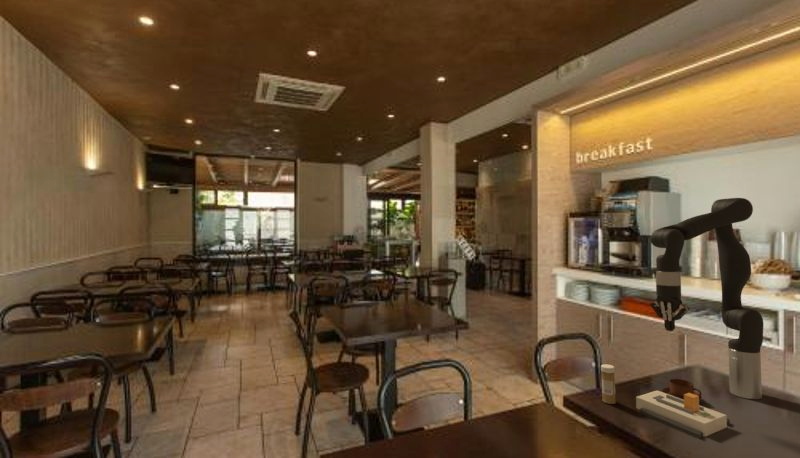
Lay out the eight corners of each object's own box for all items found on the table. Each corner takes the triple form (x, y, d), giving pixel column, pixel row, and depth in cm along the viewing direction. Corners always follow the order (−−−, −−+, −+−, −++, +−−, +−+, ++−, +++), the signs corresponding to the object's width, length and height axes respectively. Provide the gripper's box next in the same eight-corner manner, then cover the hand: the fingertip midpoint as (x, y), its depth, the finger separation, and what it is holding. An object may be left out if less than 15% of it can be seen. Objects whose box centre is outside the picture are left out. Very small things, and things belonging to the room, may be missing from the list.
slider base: (657, 400, 146) (657, 387, 146) (726, 427, 126) (726, 411, 126) (636, 407, 141) (636, 394, 141) (705, 436, 121) (704, 420, 121)
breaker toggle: (689, 406, 131) (689, 392, 131) (699, 410, 129) (699, 396, 129) (684, 408, 130) (683, 394, 130) (694, 412, 127) (693, 397, 127)
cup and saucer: (700, 396, 149) (699, 380, 149) (703, 408, 139) (703, 391, 139) (662, 389, 156) (661, 374, 156) (663, 401, 146) (662, 384, 146)
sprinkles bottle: (618, 402, 146) (617, 366, 146) (611, 405, 143) (610, 368, 143) (606, 398, 149) (604, 362, 149) (599, 401, 147) (598, 365, 147)
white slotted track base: (669, 400, 145) (669, 397, 145) (733, 424, 127) (733, 420, 127) (636, 412, 138) (636, 408, 138) (699, 438, 119) (699, 435, 119)
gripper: (694, 284, 138) (695, 333, 138) (656, 280, 151) (657, 325, 150) (681, 286, 135) (682, 336, 135) (643, 282, 147) (645, 328, 147)
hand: (669, 330), depth 143 cm, fingers closed
